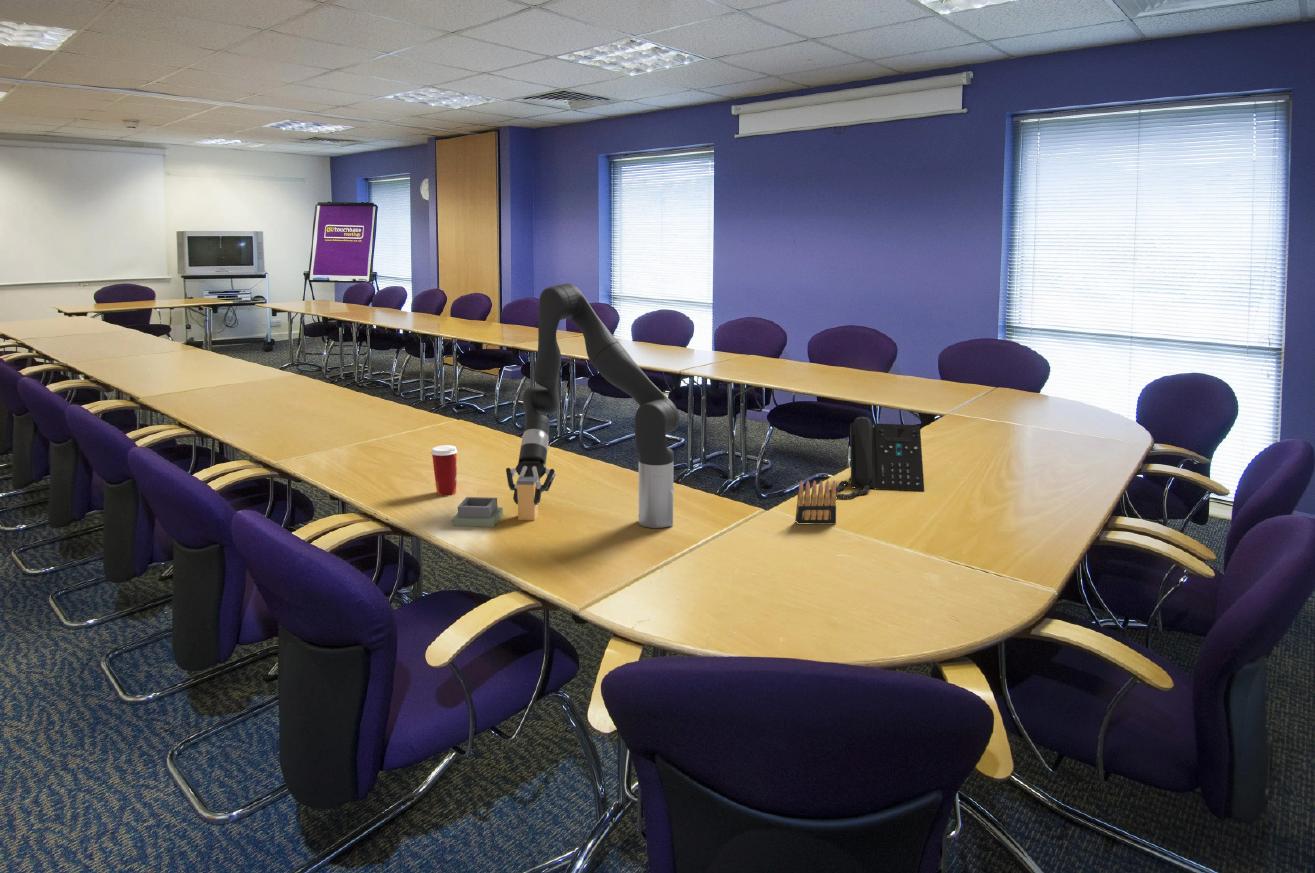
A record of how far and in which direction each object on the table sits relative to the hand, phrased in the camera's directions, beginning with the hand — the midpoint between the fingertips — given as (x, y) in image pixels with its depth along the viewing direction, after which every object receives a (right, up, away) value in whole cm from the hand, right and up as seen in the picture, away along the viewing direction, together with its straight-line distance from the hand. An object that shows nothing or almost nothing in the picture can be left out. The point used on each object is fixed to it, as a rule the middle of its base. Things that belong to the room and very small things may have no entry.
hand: (526, 503), depth 217 cm
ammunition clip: (+78, -6, 0) cm, 78 cm away
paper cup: (-28, +1, +24) cm, 37 cm away
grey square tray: (-13, -5, +1) cm, 14 cm away
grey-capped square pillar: (0, -4, +3) cm, 5 cm away
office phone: (+103, +2, +33) cm, 108 cm away
